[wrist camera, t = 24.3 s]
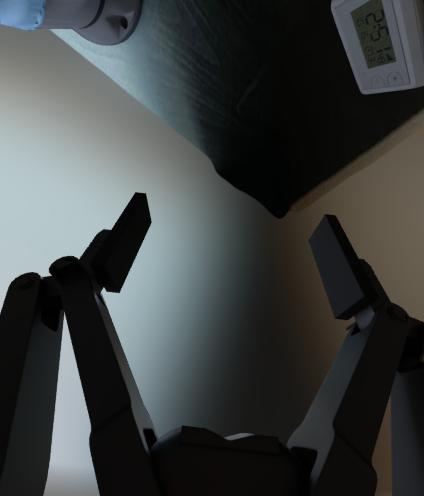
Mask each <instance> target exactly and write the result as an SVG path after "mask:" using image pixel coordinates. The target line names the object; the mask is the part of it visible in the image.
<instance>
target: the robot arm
mask: <svg viewBox="0 0 424 496" xmlns="http://www.w3.org/2000/svg"><path fill="white" fill-rule="evenodd" d="M142 3H143V0H0V24H2V25H7V26H11V27H16V28H19V29H22V30H30V31H31V30H35V29H73V30H74V31H75V32H77V33H78V34H79V35H80V36H82V37H83V38H85V39H87V40H88V41H90V42H93V43H95V44H99V45H116V44H120V43H122V42H124V41H125V40H127V39H128V38H129V37H130V36H131V35H132V33H133V32H134V30H135V29H136V27H137V24H138V22H139V19H140V15H141V10H142ZM151 223H152V222H151V217H150V211H149V206H148V201H147V196H146V193H137V192H135V194H134V196H133V197H132V199H131V200H130V202H129V203H128V205H127V206H126V208H125V209H124V211H123V212H122V214H121V216H120V217H119V219H118V220H117V222H116V223H115V225H114V226H113V228H112V230H105V229H103V230H102V231H101V232H99V233H98V234H97V235H96V236H95V237H94V239H93V240H92V242H91V243H90V245H89V247H87V249H86V250H85V252H84V253H83V255H82V256H81V257H80V259H79V260H78V258H76V257H74V256H66V257H62V258H60V259H57V260H56V261H55V262H53V263H52V264H51V266H50V268H49V273H50V274H51V275H52V276H47V277H41V276H40V275H39V274H38V273H34V272H30V273H25V274H22V275H20V276H19V277H17V278H15V279H14V280H13V281H12V282H11V284H10V286H9V288H8V291H7V294H6V298H5V300H4V304H3V307H2V310H1V313H0V496H43V494H44V489H45V485H46V481H47V475H48V469H49V461H50V453H51V443H52V432H53V422H54V412H55V402H56V392H57V382H58V371H59V361H60V351H61V341H62V330H63V320H64V312H65V316H66V320H67V325H68V329H69V333H70V337H71V342H72V346H73V350H74V354H75V359H76V363H77V367H78V371H79V376H80V380H81V384H82V388H83V393H84V397H85V401H86V406H87V410H88V414H89V418H90V423H91V433H90V437H89V446H90V452H91V457H92V461H93V466H94V470H95V475H96V480H97V484H98V489H99V493H100V496H374V495H375V491H376V486H377V475H376V471H375V470H374V468H373V466H372V462H371V460H372V455H373V452H374V448H375V445H376V441H377V438H378V434H379V431H380V427H381V424H382V421H383V417H384V414H385V410H386V407H387V403H388V400H389V396H390V395H391V450H392V496H424V361H423V357H424V322H422V321H419V320H417V319H415V318H412V317H409V315H408V314H407V312H406V311H405V310H403V308H401V307H400V306H398V305H396V304H394V303H391V301H390V300H389V298H388V296H387V294H386V293H385V291H384V289H383V287H382V286H381V284H380V282H379V281H378V278H377V277H376V275H374V271H373V270H372V268H371V266H370V265H369V264H368V263H367V262H366V261H365V260H364V259H359V258H358V257H357V255H356V253H355V251H354V249H353V247H352V246H351V243H350V242H349V240H348V238H347V236H346V234H345V232H344V230H343V228H342V227H341V225H340V223H339V221H338V219H337V217H336V216H335V215H327V214H325V215H324V217H323V219H322V220H321V222H320V223H319V225H318V226H317V228H316V230H315V231H314V233H313V234H312V236H311V238H310V239H309V243H310V246H311V249H312V252H313V255H314V258H315V261H316V264H317V267H318V270H319V273H320V276H321V279H322V282H323V285H324V288H325V290H326V294H327V297H328V299H329V303H330V305H331V308H332V311H333V314H334V317H335V319H343V320H349V319H350V318H351V317H353V316H354V317H355V319H356V322H354V323H353V324H351V325H350V326H348V327H347V328H346V330H348V329H350V328H351V329H350V331H349V333H348V334H347V336H346V338H345V341H344V342H343V344H342V346H341V348H340V350H339V352H338V354H337V356H336V358H335V360H334V362H333V364H332V366H331V368H330V370H329V372H328V374H327V376H326V378H325V380H324V382H323V384H322V386H321V388H320V390H319V392H318V394H317V395H316V398H315V399H314V401H313V403H312V405H311V407H310V409H309V411H308V414H307V415H306V417H305V419H304V421H303V423H302V425H301V426H300V427H298V428H297V429H296V430H295V431H294V433H293V434H292V436H291V437H290V439H289V441H288V443H287V445H285V444H283V443H282V442H280V441H278V437H271V436H264V435H256V434H247V433H241V434H236V435H232V436H228V437H221V436H220V435H217V434H216V433H214V432H212V431H210V430H207V429H206V428H197V427H190V426H182V427H180V428H176V429H174V430H171V431H169V432H168V433H166V434H165V435H163V436H162V437H161V438H160V439H158V436H157V433H156V431H155V428H154V426H153V423H152V420H151V418H150V416H149V413H148V411H147V410H146V408H145V406H144V404H143V401H142V398H141V396H140V393H139V390H138V388H137V385H136V383H135V380H134V377H133V375H132V372H131V369H130V367H129V364H128V361H127V359H126V356H125V354H124V351H123V348H122V346H121V343H120V340H119V338H118V335H117V332H116V330H115V327H114V325H113V322H112V319H111V317H110V314H109V311H108V309H107V306H106V303H105V301H104V298H103V295H102V294H101V291H102V289H103V287H104V288H105V289H106V291H107V292H115V293H120V291H121V288H122V286H123V284H124V282H125V280H126V277H127V275H128V273H129V271H130V268H131V266H132V264H133V262H134V260H135V258H136V256H137V253H138V251H139V249H140V247H141V245H142V242H143V240H144V238H145V236H146V233H147V231H148V229H149V227H150V225H151Z"/></svg>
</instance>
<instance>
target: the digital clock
mask: <svg viewBox="0 0 424 496" xmlns="http://www.w3.org/2000/svg"><path fill="white" fill-rule="evenodd" d="M331 10H332V14H333V17H334V20H335V22H336V25H337V28H338V31H339V34H340V37H341V39H342V42H343V45H344V48H345V50H346V53H347V56H348V59H349V62H350V64H351V67H352V70H353V73H354V75H355V78H356V81H357V84H358V86H359V89H360V91H361V93H363V94H372V93H380V92H388V91H396V90H404V89H411V88H416V87H421V86H423V85H424V3H423V0H332V3H331Z"/></svg>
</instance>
